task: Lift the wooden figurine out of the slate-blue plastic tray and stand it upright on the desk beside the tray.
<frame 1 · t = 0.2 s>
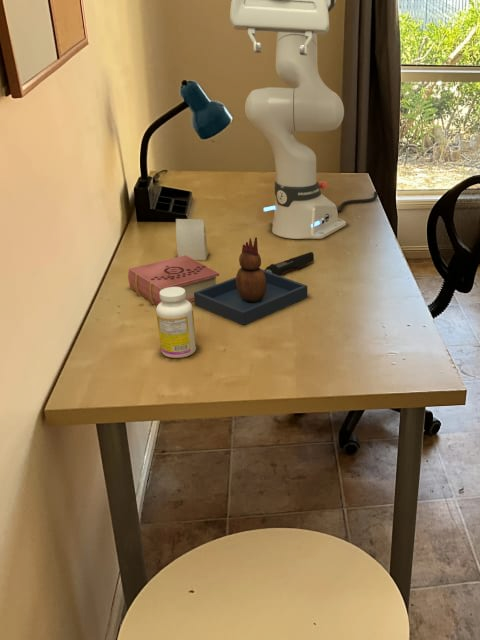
hand: (280, 53, 156), 52 cm above the table, tool tilted 20°, fingers open, 8 cm apart
white folded card: (193, 257, 191), on the table
electric trimmer: (289, 271, 187), on the table
tray: (252, 301, 169), on the table
book: (174, 292, 172), on the table
supplement bottle: (179, 352, 147), on the table
wooden figurine: (252, 300, 169), resting on tray
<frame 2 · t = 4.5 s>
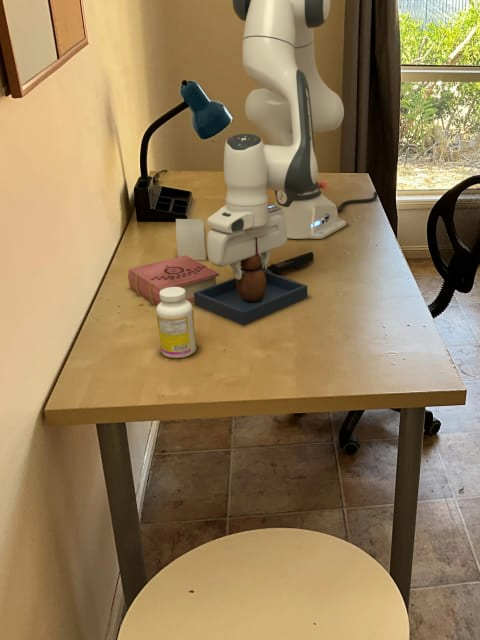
hand: (250, 274, 166), 7 cm above the table, tool pointing down, fingers closed on wooden figurine, 5 cm apart
wooden figurine: (252, 300, 169), resting on tray, touching gripper
everything else where it was.
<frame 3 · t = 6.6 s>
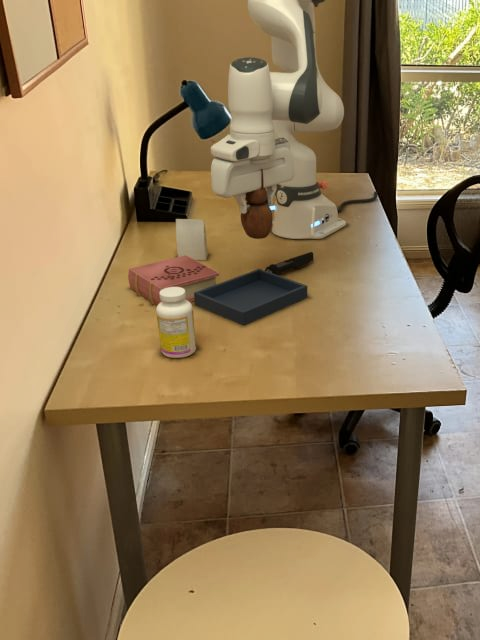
hand: (256, 209, 159), 22 cm above the table, tool pointing down, fingers closed on wooden figurine, 5 cm apart
wooden figurine: (257, 237, 162), point 15 cm above the table, touching gripper
everything else where it was.
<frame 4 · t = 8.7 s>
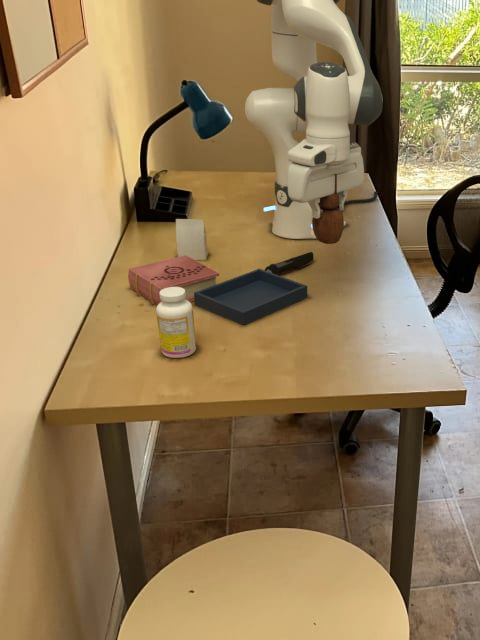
hand: (328, 214, 159), 22 cm above the table, tool pointing down, fingers closed on wooden figurine, 5 cm apart
wooden figurine: (328, 242, 162), point 15 cm above the table, touching gripper
everything else where it was.
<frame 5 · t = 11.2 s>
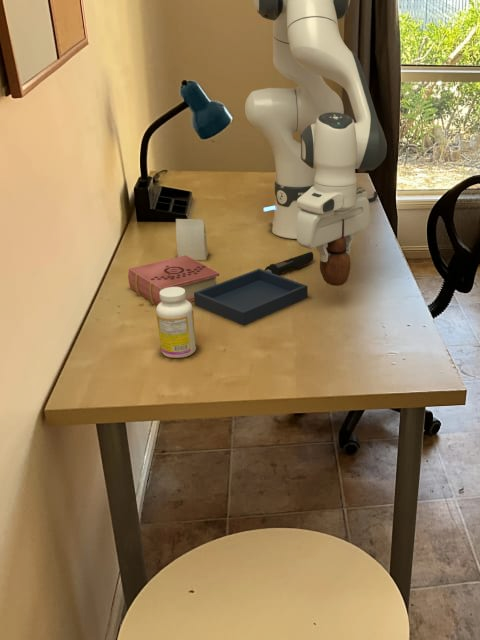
hand: (335, 256, 163), 12 cm above the table, tool pointing down, fingers closed on wooden figurine, 5 cm apart
wooden figurine: (335, 283, 166), point 6 cm above the table, touching gripper
everything else where it was.
when the fingers open (6 cm above the table, at t = 13.3 s): wooden figurine stays where it is, on the table.
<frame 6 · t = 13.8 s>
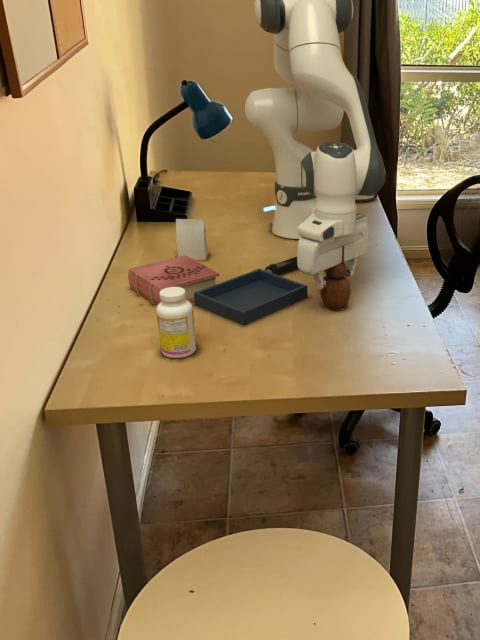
hand: (335, 281, 166), 6 cm above the table, tool pointing down, fingers open, 8 cm apart
wooden figurine: (335, 308, 169), on the table
everything else where it was.
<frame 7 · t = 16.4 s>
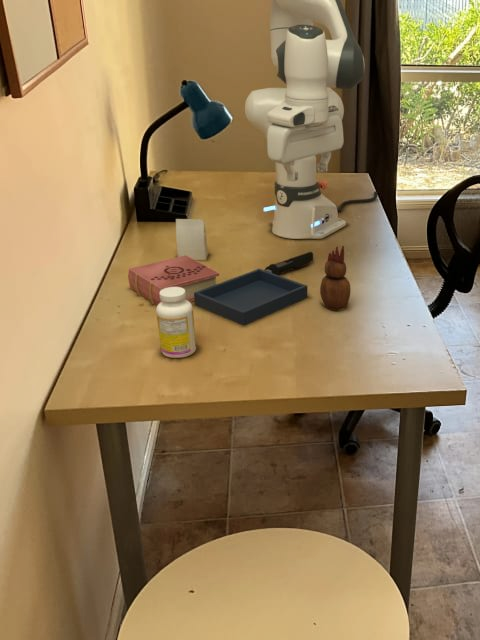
hand: (307, 176, 162), 28 cm above the table, tool pointing down, fingers open, 8 cm apart
nothing on the table moved.
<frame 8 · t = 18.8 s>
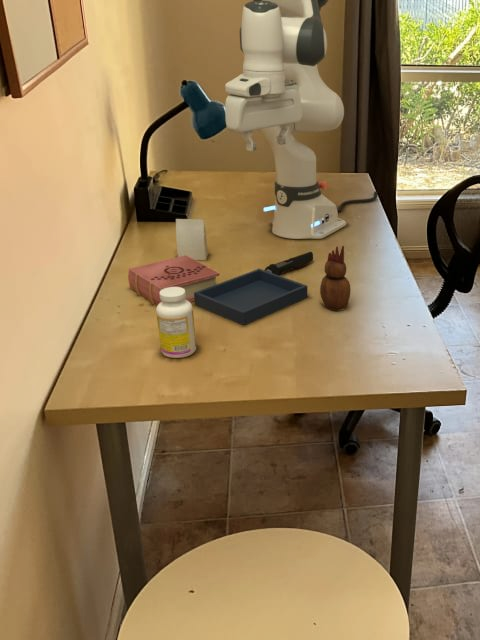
hand: (266, 147, 169), 31 cm above the table, tool pointing down, fingers open, 8 cm apart
nothing on the table moved.
at the end: wooden figurine inside the target area (0.0 cm from its centre), on the table; wooden figurine tilted 0°; wooden figurine touching table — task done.
